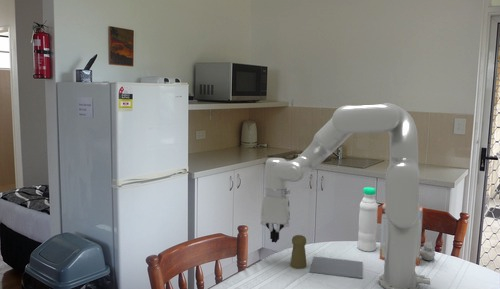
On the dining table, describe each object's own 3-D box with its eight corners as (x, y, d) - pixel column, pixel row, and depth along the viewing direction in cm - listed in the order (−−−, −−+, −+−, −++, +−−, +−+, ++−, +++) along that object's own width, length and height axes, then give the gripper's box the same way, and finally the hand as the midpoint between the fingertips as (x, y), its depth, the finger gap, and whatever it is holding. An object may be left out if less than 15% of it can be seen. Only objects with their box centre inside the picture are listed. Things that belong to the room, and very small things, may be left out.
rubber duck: (424, 262, 158) (426, 242, 157) (415, 255, 164) (416, 236, 163) (438, 262, 159) (439, 241, 158) (428, 255, 165) (429, 235, 164)
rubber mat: (362, 262, 157) (362, 261, 157) (362, 278, 144) (362, 277, 144) (313, 257, 162) (313, 256, 162) (309, 272, 148) (309, 271, 148)
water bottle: (357, 250, 169) (360, 189, 166) (357, 244, 175) (360, 185, 172) (375, 253, 167) (378, 190, 163) (375, 246, 173) (379, 186, 170)
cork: (306, 269, 151) (307, 239, 149) (289, 267, 152) (289, 238, 150) (307, 262, 157) (308, 234, 155) (290, 261, 158) (291, 232, 156)
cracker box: (420, 260, 160) (423, 206, 158) (418, 266, 155) (422, 210, 152) (381, 253, 166) (384, 201, 164) (379, 258, 161) (382, 205, 158)
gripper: (297, 191, 155) (296, 239, 157) (258, 188, 158) (257, 235, 161) (294, 196, 148) (293, 247, 150) (253, 193, 151) (252, 242, 154)
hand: (274, 241), depth 155 cm, fingers closed
